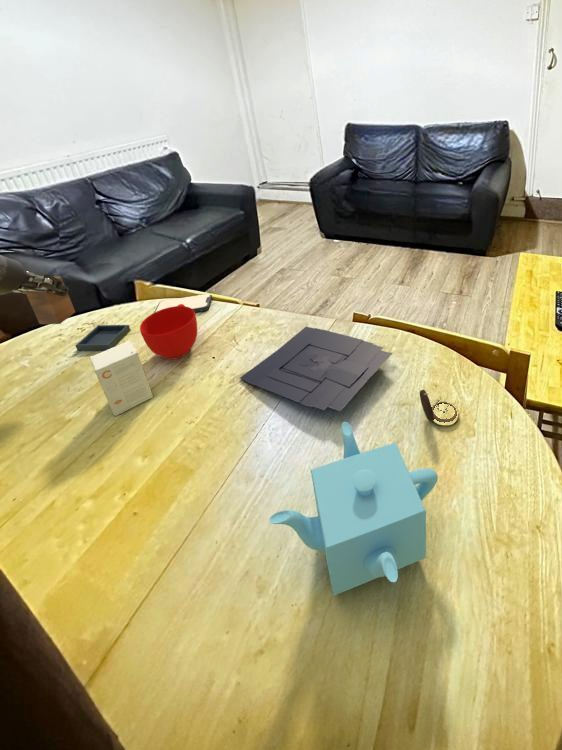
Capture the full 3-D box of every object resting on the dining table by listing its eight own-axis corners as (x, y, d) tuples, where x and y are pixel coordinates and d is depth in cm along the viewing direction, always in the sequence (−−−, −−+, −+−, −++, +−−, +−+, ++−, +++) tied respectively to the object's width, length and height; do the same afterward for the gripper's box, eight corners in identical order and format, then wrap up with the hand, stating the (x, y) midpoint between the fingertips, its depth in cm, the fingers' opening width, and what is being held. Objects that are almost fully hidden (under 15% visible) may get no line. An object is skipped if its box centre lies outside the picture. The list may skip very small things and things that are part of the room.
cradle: (77, 351, 111) (75, 345, 111) (100, 330, 120) (98, 325, 119) (110, 350, 111) (108, 345, 110) (130, 330, 119) (128, 324, 119)
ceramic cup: (212, 325, 120) (204, 296, 116) (195, 364, 105) (186, 332, 101) (165, 330, 119) (156, 300, 115) (142, 370, 103) (130, 338, 99)
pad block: (39, 324, 96) (22, 287, 92) (55, 312, 101) (40, 276, 97) (60, 324, 96) (44, 287, 92) (75, 312, 100) (61, 276, 96)
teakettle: (443, 513, 68) (445, 450, 62) (397, 647, 53) (394, 580, 47) (345, 470, 76) (339, 411, 70) (280, 576, 61) (265, 512, 55)
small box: (145, 383, 99) (130, 339, 94) (153, 397, 95) (138, 352, 89) (107, 402, 94) (88, 356, 89) (114, 417, 90) (94, 370, 84)
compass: (464, 423, 85) (465, 396, 82) (427, 432, 83) (427, 405, 80) (448, 395, 92) (449, 369, 89) (415, 403, 90) (414, 377, 87)
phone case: (153, 320, 124) (208, 311, 127) (151, 316, 123) (207, 306, 126) (161, 304, 132) (213, 296, 135) (159, 300, 131) (212, 292, 134)
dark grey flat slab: (337, 428, 83) (333, 414, 82) (241, 388, 99) (237, 375, 98) (397, 358, 102) (395, 345, 101) (308, 334, 118) (306, 323, 117)
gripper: (27, 252, 83) (88, 276, 98) (-41, 253, 83) (30, 276, 99) (14, 289, 80) (79, 307, 96) (-55, 290, 81) (20, 307, 96)
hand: (54, 291), depth 97 cm, fingers closed on pad block, 5 cm apart
